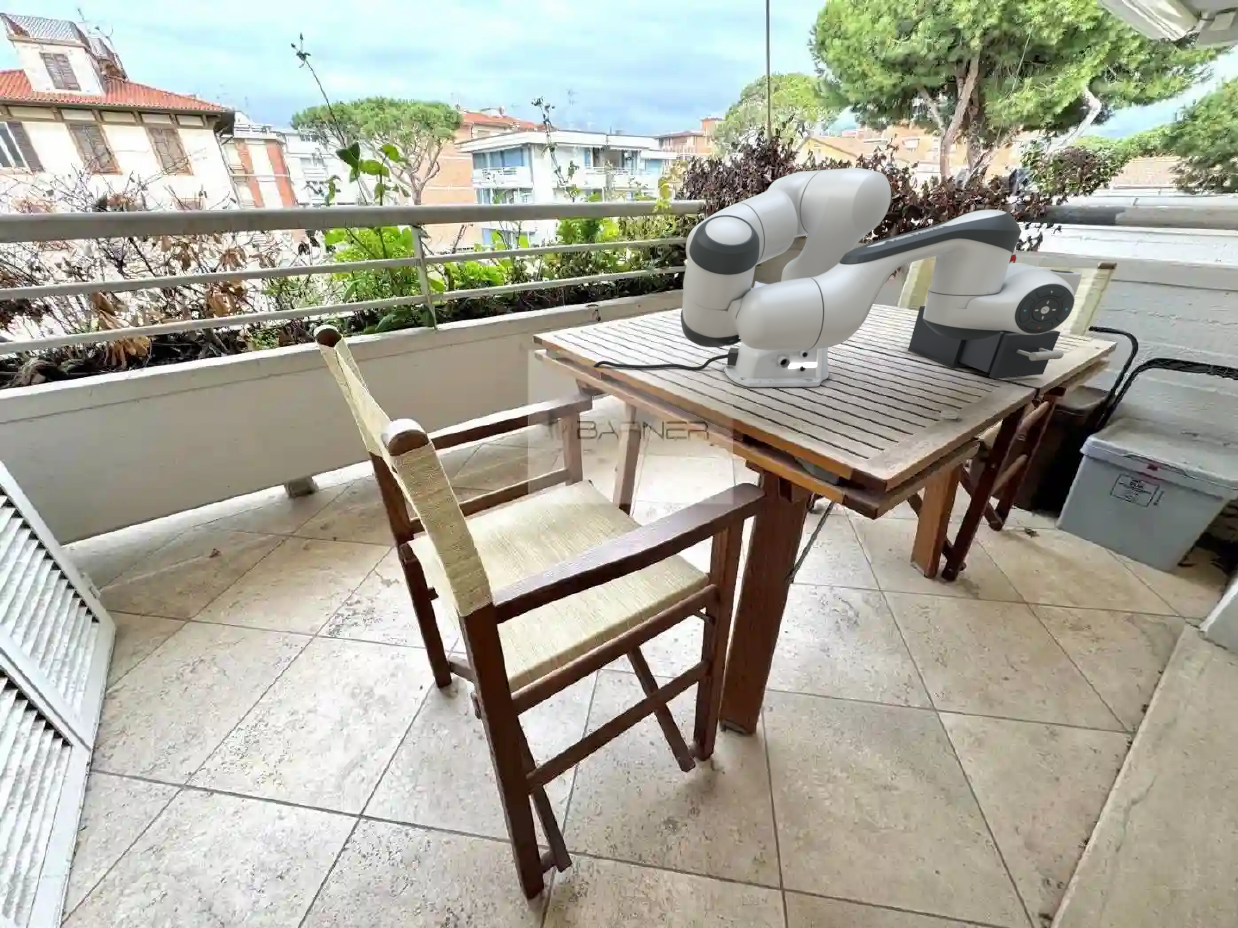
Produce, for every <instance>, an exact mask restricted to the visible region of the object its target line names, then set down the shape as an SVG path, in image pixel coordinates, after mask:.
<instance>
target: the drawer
mask: <svg viewBox="0 0 1238 928" xmlns="http://www.w3.org/2000/svg"><path fill="white" fill-rule="evenodd" d="M1060 334H1061V331H1059V330H1051V331H1049V332H1046V333H1043V334H1038V335H1025V334H1020V333H1016V332H1011V331H1006V330H1004V331H1002V332H1000V333H999V334H996V335H994V336H991V337H988V338H985V339H976V340H964V344H963V347H962V350H961V353H960V356H959V359H958V362H961V363H963V364H966V365H969V366H971V367H972V368H973V369H974V368H975V369H977V370H979V371H982V372H985V373H987V374H989V375H988V377H989V378H991V379H1004V378H1015V377H1016V378H1017V377H1028V376H1042V375H1044V372H1045V370H1046V368H1047V365H1048V363H1049V361H1050V360H1059V359H1063V357H1064V351H1063V350H1054V349H1055V346H1056V344H1057V342H1058V339H1059V337H1060Z"/></svg>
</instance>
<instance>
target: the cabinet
mask: <svg viewBox="0 0 1238 928" xmlns="http://www.w3.org/2000/svg"><path fill="white" fill-rule="evenodd" d="M924 309H925V305H920V306H919V307H918V312H917V316H916V319H915V322H914V323H915V324H914V327H913V331H912V334H911V338H910V341H909V346H908V349H907V350H908V351H909V352H911V353H914V354H916V355H918V356H921V357H924V358H926V359H929V360H931V361H933V362H936V363H938V364H941V365H944V366H946V367H949V368H950V369H951V368H952V369H957V368H970V367H971V366H969V365H966V364H963V363H961V362H958V359H959V356H960V353H961V350H962V347H963V344H964V340H963V339H953V338H948V337H944V336H941V335H939V334H937V333H936V332H934V331H933V330H932V329H931V328H929V327H928V326H927V325H926V323H925V322H924V320H923V314H924Z"/></svg>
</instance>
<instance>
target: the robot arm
mask: <svg viewBox="0 0 1238 928" xmlns="http://www.w3.org/2000/svg"><path fill="white" fill-rule="evenodd" d="M891 189H892V188H891V184H890V182H889V179H888V177H887V176H886V175H885V174H884V173H882V172H880V171H876V170H873V169H872V170H871V169H867V168H862V167H847V168H832V169H831V168H830V169H820V170H818V169H817V170H807V171H806V170H805V171H803V170H802V171H796V172H793V173H789V174H787V175H785V176H781V177H780V178H776V179H775V180H774V181H773V182H771V184H770V185H769V186H768V188H767V190H766V191H764V192H761V193H759V194H756V195H754V196H751V197H749V198H745V199H744V200H741V201H739V202H736V203H734V204H730V205H729V206H727V207H724V208H723V209H720V210H719V211H717V212H715V213H713V214H712V215H710V216H708V217H706V218H705V219H704V220H702V221H700V222H699V223H698V224H696V225H695V226H694V227H693V228H692V229H691V230H690V232H689V233H688V236H687V239H686V241H685V242H686V243H685V254H686V255H685V256H686V259H687V264H686V266H685V271H684V276H683V281H682V287H683V288H682V301H681V302H682V303H681V304H682V305H681V307H682V308H681V310H680V323H681V330H682V333H683V335H684V336H685V338H686V339H687V340H688V341H690V342H691V343H693V344H695V345H697V346H699V347H703V348H723V347H729V346H733V345H736V344H738V343H741V344H740V345H739V347H730V348H729V349H728V351H727V353H725V354H721V355H716V356H714V357H711V358H709V359H707V360H706V361H705V362H704V363H703V364H701V365H699V366H689V365H684V364H678V363H662V364H627V363H615V362H612V361H608V360H600V361H598V362H596V363H595V364H594V365H593V366H592V367H593V368H598V367H599V366H601V365H606V366H609V367H613V368H618V369H619V368H622V369H635V370H651V369H652V370H653V369H654V370H655V369H666V368H667V369H669V368H674V369H675V368H677V369H682V370H686V371H687V370H688V371H701V370H704V369H706V368H707V367H708V365H710V364H711V363H712V362H715V361H718V360H723V359H727V360H726V361H727V362H726V364H725V366H724V371H723V372H724V374H725V375H726V377H728V378H729V379H730V380H731V381H733V382H734V383H736V384H738V385H741V386H744V387H748V388H799V387H800V388H803V387H804V388H808V387H810V388H812V387H813V388H815V387H816V388H817V387H819V386H820V385H821V383H822V382H823V381H825V380H827V379H828V378H829V376H830V373H829V363H828V362H829V360H828V356H829V354H828V353H829V348H831V347H835V346H838V345H840V344H843V343H844V342H846V341H847V340H849V339H850V338H851V337H852V336H854V334H855V333H856V332H857V331H859V329H860V328H861V327H862V326H863V324H864V322H865V321H866V319H867V318H868V316H869V314H870V311H871V309H872V307H873V306H874V303H875V301H876V299H877V297H878V295H879V293H880V292H881V290H882V288H883V287H884V285H885V283H886V282H887V281H888V279H889V278H890V277H891V275H892V274H893V273H894V272H896V271H897V270H898V268H899V269H900V268H901V267H903V266H904V265H907V264H910V263H914V262H917V261H921V260H925V259H928V258H932V257H935V262H934V267H933V272H932V276H931V280H930V285H929V289H928V291H927V296H926V300H925V304H924V306H925V309H924V314H923V320H924V322H925V323H926V325H927V326H928V327H929V328H931V329H932V330H933V331H934V332H936V333H937V334H939V335H941V336H944V337H948V338H953V339H963V340H976V339H985V338H988V337H991V336H994V335H996V334H999V333H1000V332H1002V331H1004V330H1006V331H1011V332H1016V333H1020V334H1025V335H1038V334H1043V333H1046V332H1049V331H1054V330H1055V329H1056V328H1058V327H1059V326H1061V325H1062V324H1063V323H1064V322H1065V321H1066V320H1067V319H1068V318H1069V316H1070V315H1071V313H1072V312H1073V309H1074V306H1075V302H1076V301H1075V300H1076V298H1075V297H1076V295H1077V291H1078V289H1079V286H1080V283H1081V280H1082V276H1083V274H1082V273H1081V272H1079V271H1071V270H1060V269H1059V270H1057V269H1048V268H1044V267H1041V266H1038V265H1031V264H1028V263H1026V262H1015V263H1011V264H1009V262H1010V258H1011V255H1012V254H1013V252H1014V250H1016V248H1017V244H1018V242H1019V239H1020V237H1021V234H1022V229H1021V227H1020V225H1019V224H1018V222H1017V220H1016V219H1015V217H1014V216H1013V215H1012V214H1011V213H1010V212H1009V211H1005V210H999V209H981V210H973V211H970V212H968V213H964V214H963V215H960V216H957V217H954V218H951V219H948V220H946V221H943V222H940V223H937V224H934V225H929V226H927V227H923V228H919V229H916V230H912V231H908V232H904V233H901V234H897V235H893V236H890V237H887V238H882V239H879V240H876V241H874V242H873V241H872V242H870V243H867V244H864V245H860V246H858V247H856V246H857V245H858V244H859V242H861V240H862V239H863V238H864V237H866V235H868V234H869V233H870V232H872V231H874V230H875V229H876V228H878V226H879V225H880V224H881V222H882V221H883V220H884V218H885V217H886V215H887V213H888V211H889V208H890V204H891V199H892V190H891ZM806 236H807V237H806ZM799 237H806V240H805V244H804V246H803V248H802V250H801V251H800V253H799V254H798V255H797V256H796V257H794V258H792V259H791V260H789V262H787V263H786V265H784V267H783V268H782V272H781V278H780V281H777V282H773V283H763V282H760V281H758V280H755V281H754V276H755V270H756V266H758V265H759V264H762V263H764V262H766V261H767V262H768V260H771V259H773V258H775V257H778V256H780V255H782V254H784V253H785V252H787V251H788V250H789V249H790V248H791V246H792V245H793V243H794V241H795V239H796V238H799ZM753 281H754V284H753Z"/></svg>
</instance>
